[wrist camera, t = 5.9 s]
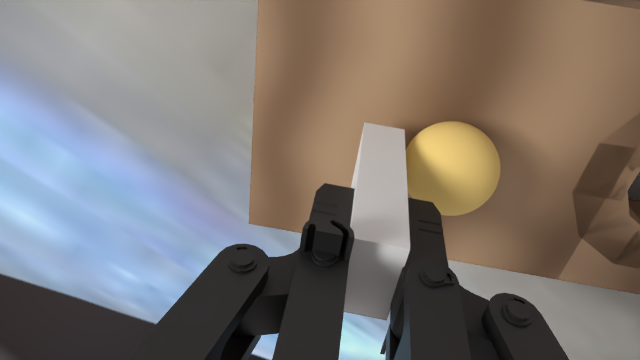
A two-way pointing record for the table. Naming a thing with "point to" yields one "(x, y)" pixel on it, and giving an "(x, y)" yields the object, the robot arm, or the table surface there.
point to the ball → (452, 167)
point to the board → (464, 118)
